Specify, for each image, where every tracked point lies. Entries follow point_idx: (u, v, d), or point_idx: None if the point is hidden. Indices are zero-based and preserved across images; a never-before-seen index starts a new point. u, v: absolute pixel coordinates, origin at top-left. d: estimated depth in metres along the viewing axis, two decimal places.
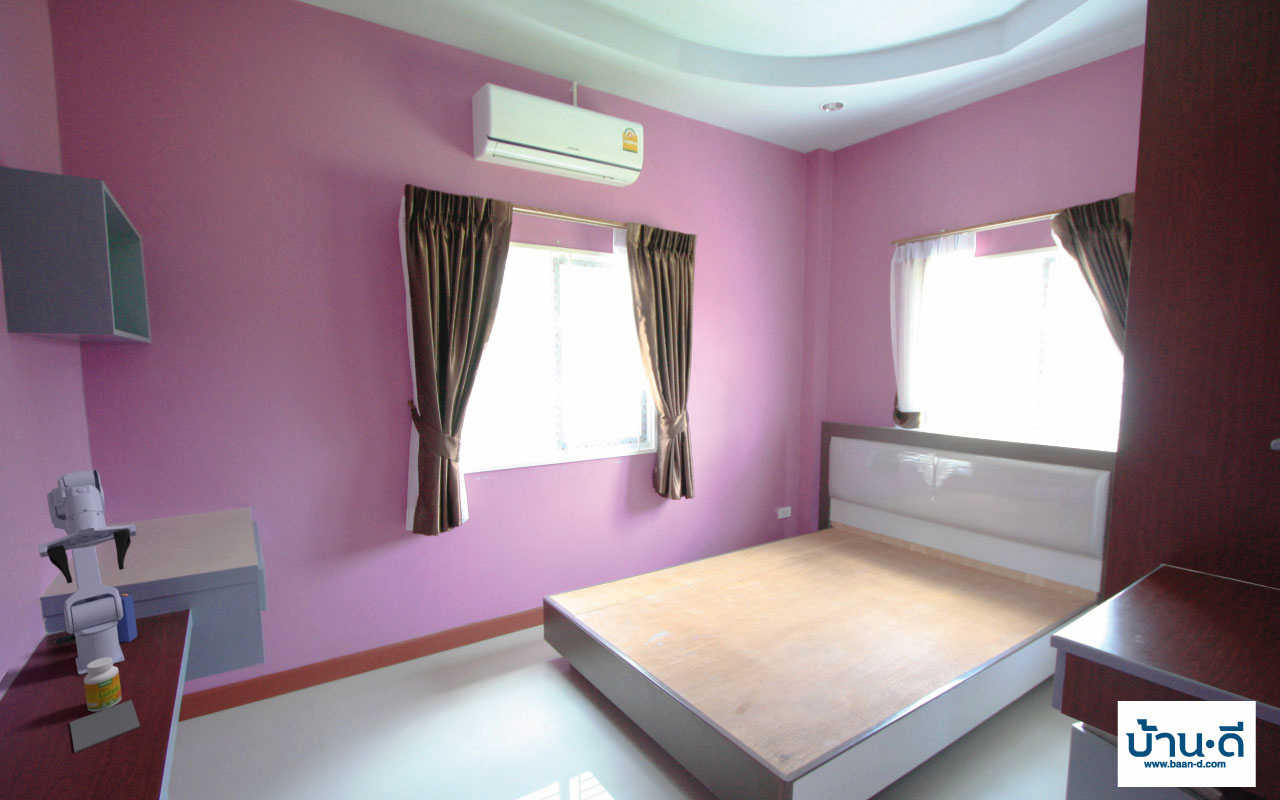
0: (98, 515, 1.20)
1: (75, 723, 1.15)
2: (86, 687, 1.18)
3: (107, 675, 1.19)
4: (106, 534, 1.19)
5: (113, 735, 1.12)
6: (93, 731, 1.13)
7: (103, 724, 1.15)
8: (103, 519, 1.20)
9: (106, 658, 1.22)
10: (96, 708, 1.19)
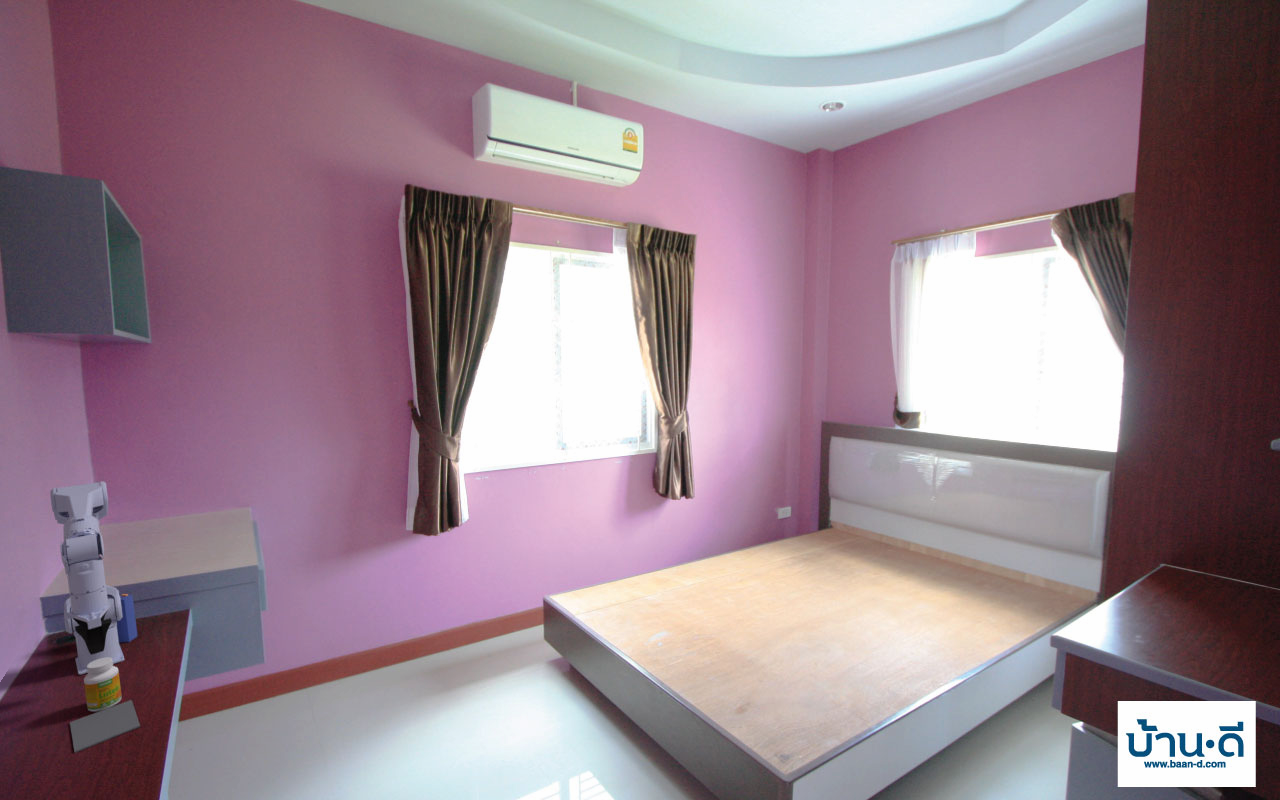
0: (76, 599, 1.20)
1: (75, 723, 1.15)
2: (86, 687, 1.18)
3: (107, 675, 1.19)
4: None
5: (113, 735, 1.12)
6: (93, 731, 1.13)
7: (103, 724, 1.15)
8: (83, 601, 1.21)
9: (106, 658, 1.22)
10: (96, 708, 1.19)
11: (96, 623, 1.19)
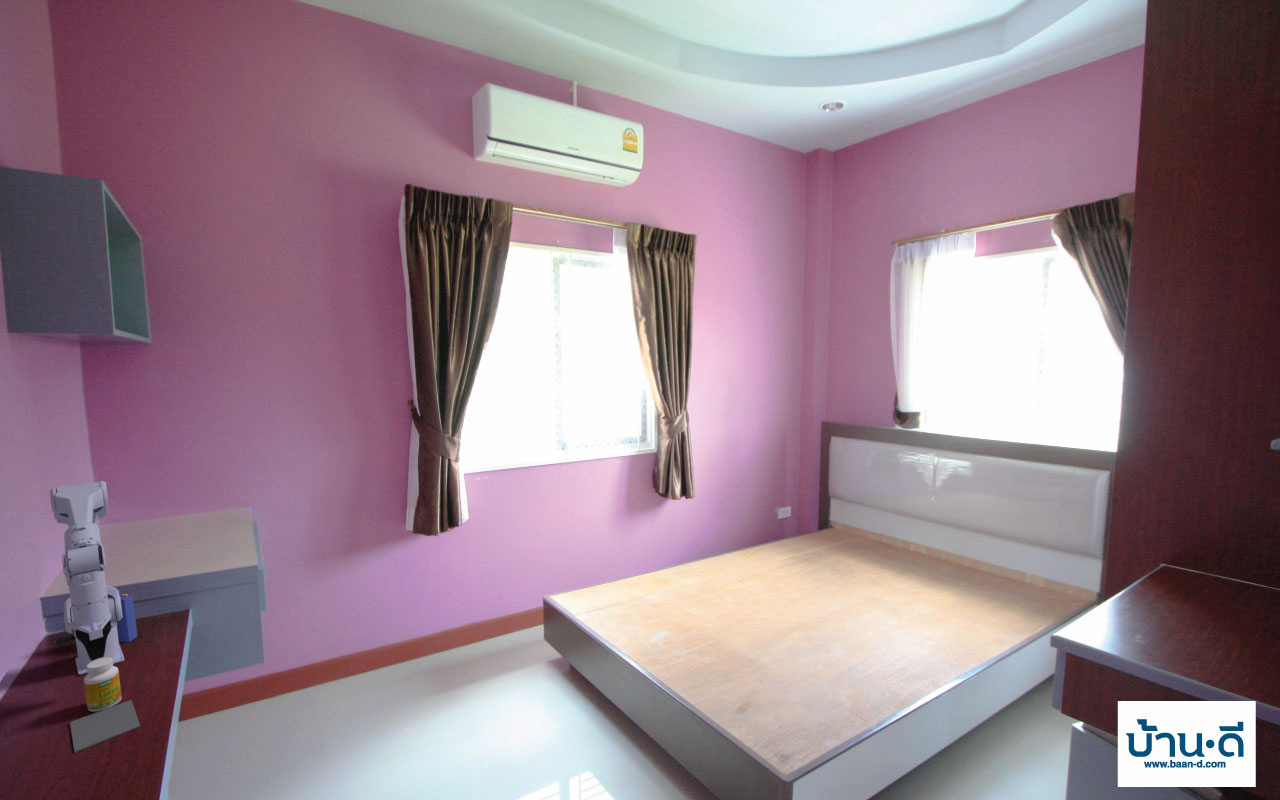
0: (78, 610, 1.20)
1: (75, 723, 1.15)
2: (86, 687, 1.18)
3: (107, 675, 1.19)
4: None
5: (113, 735, 1.12)
6: (93, 731, 1.13)
7: (103, 724, 1.15)
8: (85, 612, 1.21)
9: (106, 658, 1.22)
10: (96, 708, 1.19)
11: (98, 634, 1.19)
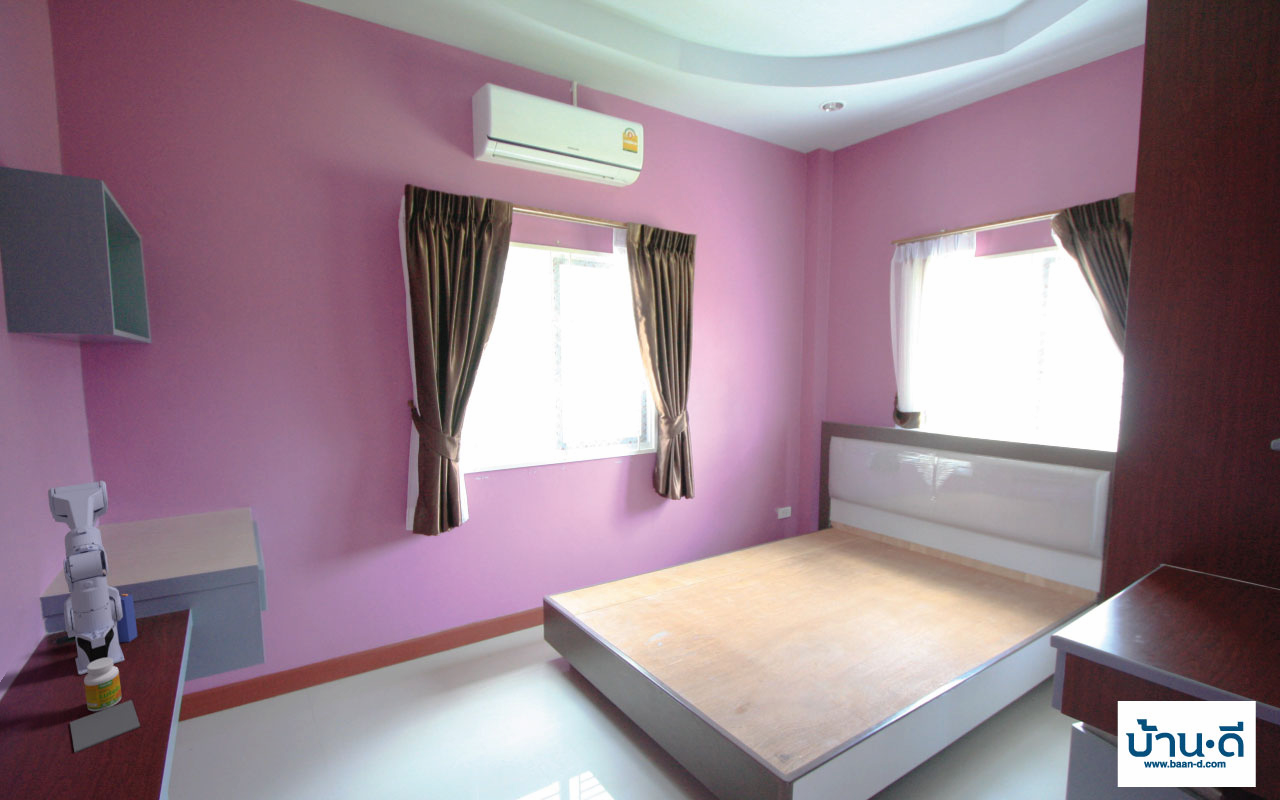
0: (79, 618, 1.17)
1: (75, 723, 1.15)
2: (86, 688, 1.18)
3: (108, 677, 1.19)
4: None
5: (113, 735, 1.12)
6: (93, 731, 1.13)
7: (103, 724, 1.15)
8: (87, 619, 1.18)
9: (106, 658, 1.21)
10: (96, 708, 1.19)
11: (100, 642, 1.16)
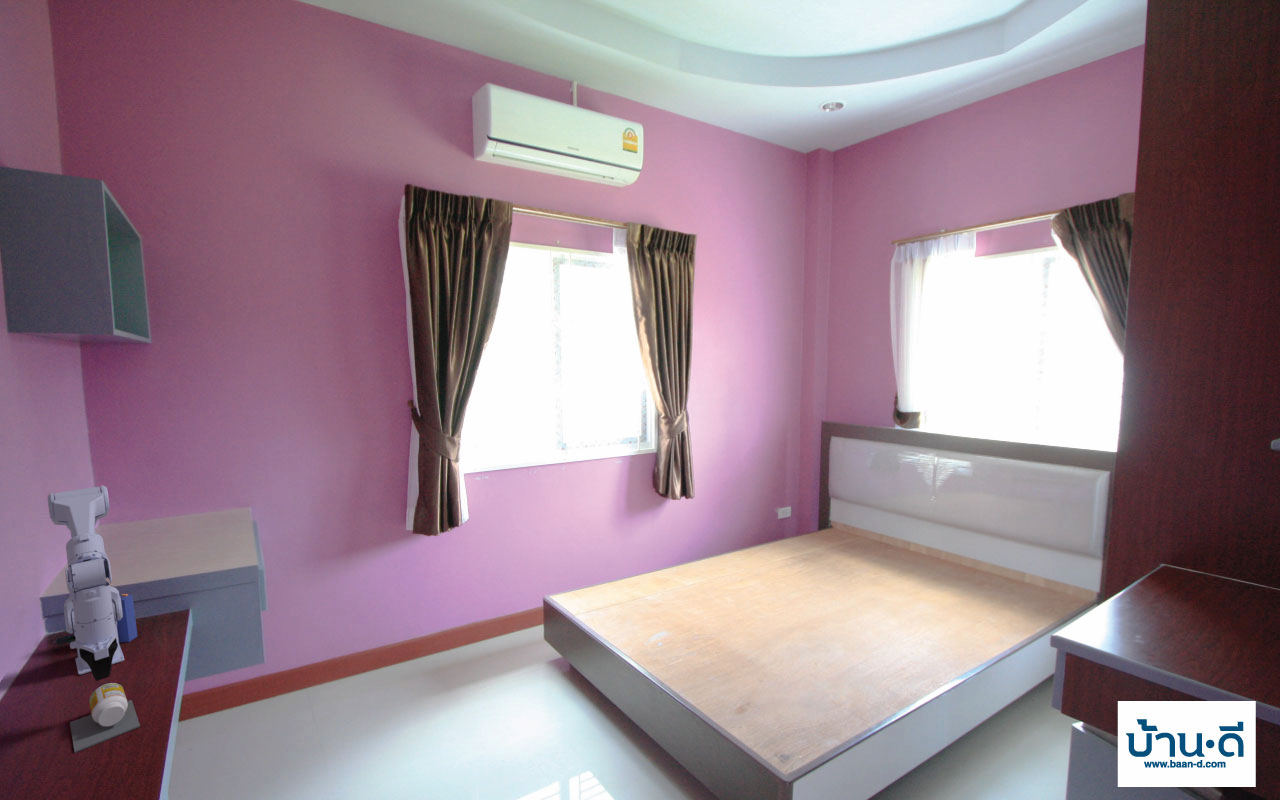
0: (82, 628, 1.13)
1: (75, 723, 1.15)
2: None
3: None
4: None
5: (113, 735, 1.12)
6: (93, 731, 1.13)
7: None
8: (90, 630, 1.14)
9: (119, 709, 1.14)
10: None
11: (103, 654, 1.12)
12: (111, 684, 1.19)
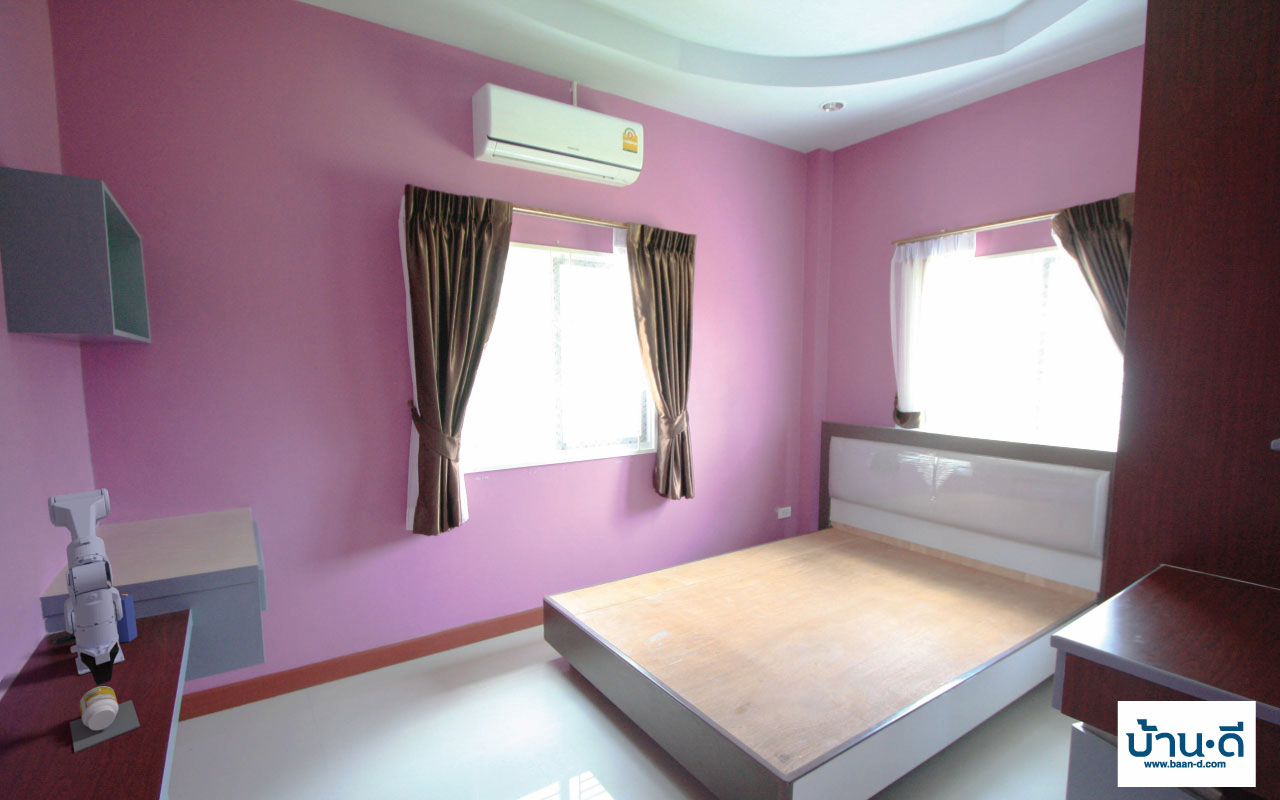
0: (83, 632, 1.12)
1: (75, 723, 1.15)
2: None
3: None
4: None
5: (113, 735, 1.12)
6: (93, 731, 1.13)
7: None
8: (91, 634, 1.12)
9: (105, 712, 1.12)
10: None
11: (104, 658, 1.11)
12: (92, 690, 1.17)
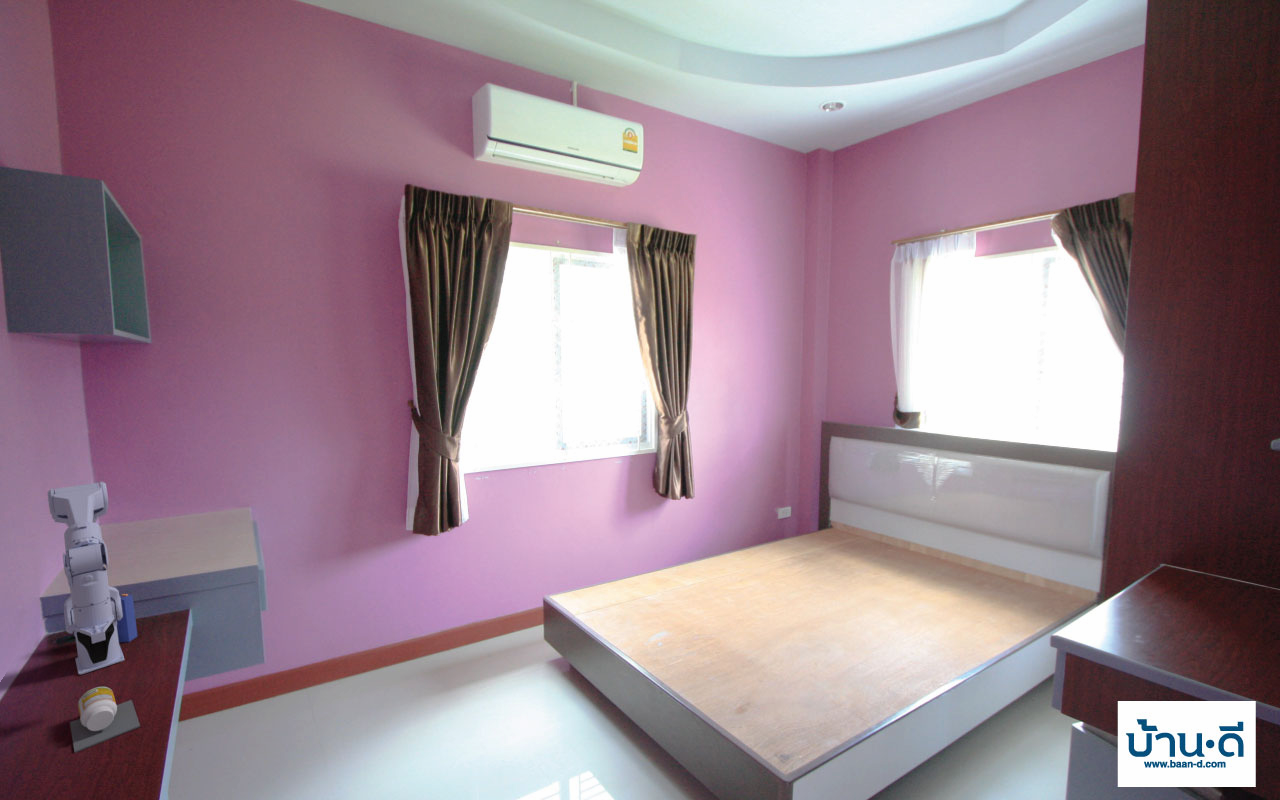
0: (79, 612, 1.15)
1: (75, 723, 1.15)
2: None
3: None
4: None
5: (113, 735, 1.12)
6: (93, 731, 1.13)
7: None
8: (87, 614, 1.16)
9: (103, 713, 1.12)
10: None
11: (100, 637, 1.14)
12: (89, 691, 1.17)
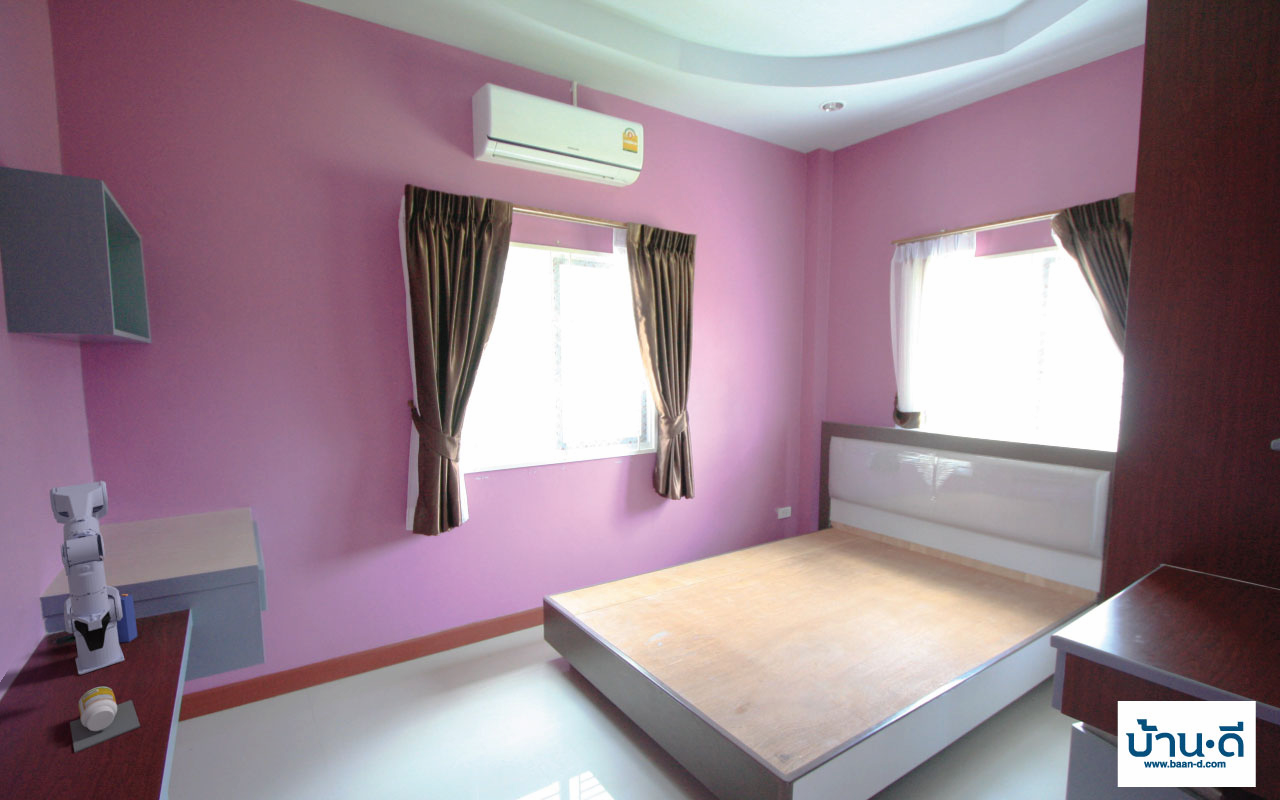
0: (76, 601, 1.20)
1: (75, 723, 1.15)
2: None
3: None
4: None
5: (113, 735, 1.12)
6: (93, 731, 1.13)
7: None
8: (84, 603, 1.20)
9: (104, 713, 1.12)
10: None
11: (97, 625, 1.18)
12: (90, 690, 1.17)
